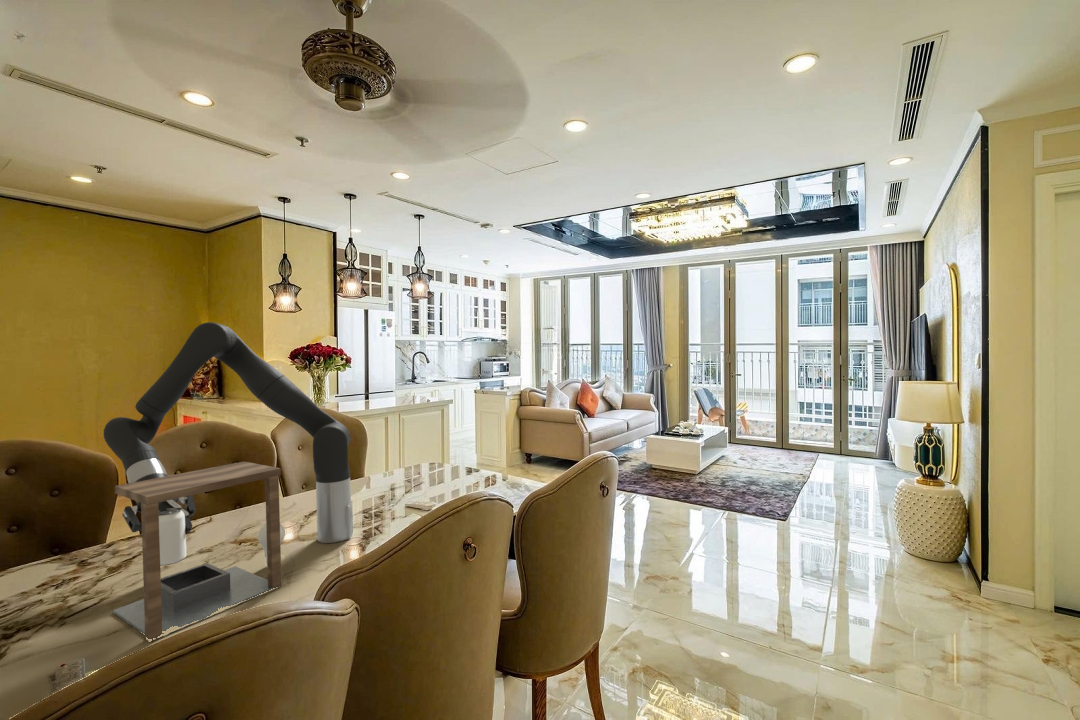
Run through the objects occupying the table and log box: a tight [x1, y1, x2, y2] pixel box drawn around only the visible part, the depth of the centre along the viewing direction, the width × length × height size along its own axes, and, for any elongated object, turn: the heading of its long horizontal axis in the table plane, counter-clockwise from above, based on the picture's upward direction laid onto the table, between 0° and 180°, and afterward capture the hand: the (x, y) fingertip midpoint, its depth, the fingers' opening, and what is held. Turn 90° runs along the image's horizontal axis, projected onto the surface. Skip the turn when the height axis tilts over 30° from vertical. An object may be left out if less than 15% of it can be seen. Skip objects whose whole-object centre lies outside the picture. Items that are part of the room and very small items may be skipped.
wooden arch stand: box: [114, 461, 283, 643], centre depth 104 cm, size 16×25×28 cm, turn 148°
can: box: [159, 507, 187, 567], centre depth 116 cm, size 6×6×12 cm
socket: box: [112, 562, 279, 640], centre depth 106 cm, size 20×24×4 cm
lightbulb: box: [257, 523, 286, 563], centre depth 122 cm, size 6×6×11 cm
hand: (171, 536), depth 115 cm, fingers closed on can, 6 cm apart
